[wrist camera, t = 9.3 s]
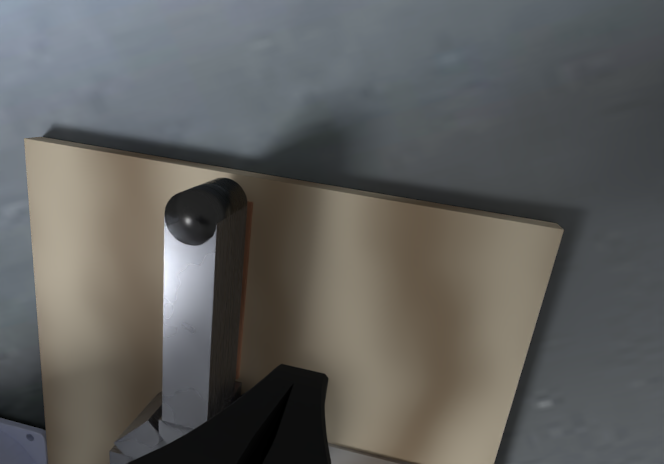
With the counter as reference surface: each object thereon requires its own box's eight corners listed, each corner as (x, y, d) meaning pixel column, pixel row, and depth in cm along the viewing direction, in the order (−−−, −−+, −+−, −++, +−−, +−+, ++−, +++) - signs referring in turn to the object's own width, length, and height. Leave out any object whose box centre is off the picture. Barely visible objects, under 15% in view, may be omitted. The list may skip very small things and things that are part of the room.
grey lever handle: (276, 505, 24) (252, 570, 20) (153, 472, 25) (111, 530, 21) (311, 188, 19) (287, 208, 15) (154, 163, 20) (100, 176, 16)
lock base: (64, 512, 29) (-31, 621, 23) (41, 136, 22) (-106, 150, 16) (439, 623, 26) (445, 785, 20) (556, 223, 19) (623, 283, 12)
